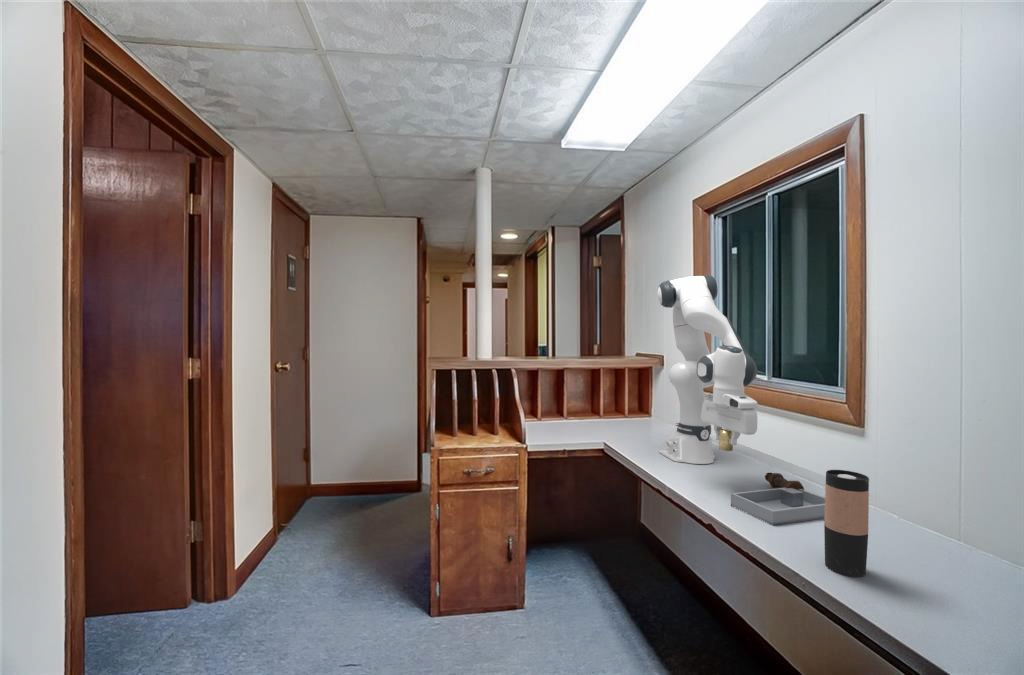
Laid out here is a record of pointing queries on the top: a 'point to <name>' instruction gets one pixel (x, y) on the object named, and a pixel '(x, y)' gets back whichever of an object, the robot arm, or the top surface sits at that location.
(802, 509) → the parts tray
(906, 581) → the top surface
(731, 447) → the brass cylinder
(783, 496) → the steel block
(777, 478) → the bolt
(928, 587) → the top surface
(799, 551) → the top surface
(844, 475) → the travel mug
